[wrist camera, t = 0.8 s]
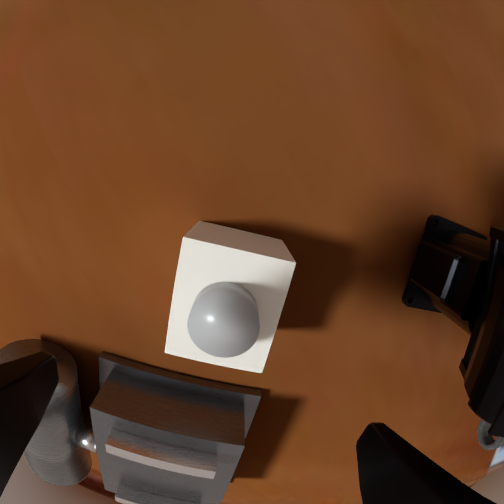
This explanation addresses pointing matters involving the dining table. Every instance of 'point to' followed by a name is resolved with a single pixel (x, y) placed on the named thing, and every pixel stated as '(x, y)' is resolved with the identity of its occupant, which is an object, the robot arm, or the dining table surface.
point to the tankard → (488, 437)
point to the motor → (140, 430)
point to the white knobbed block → (228, 296)
